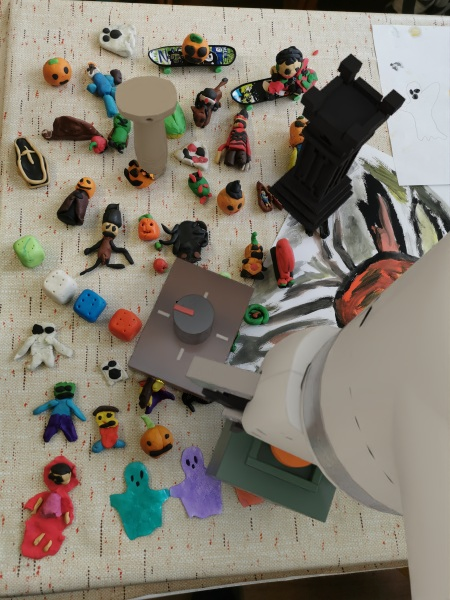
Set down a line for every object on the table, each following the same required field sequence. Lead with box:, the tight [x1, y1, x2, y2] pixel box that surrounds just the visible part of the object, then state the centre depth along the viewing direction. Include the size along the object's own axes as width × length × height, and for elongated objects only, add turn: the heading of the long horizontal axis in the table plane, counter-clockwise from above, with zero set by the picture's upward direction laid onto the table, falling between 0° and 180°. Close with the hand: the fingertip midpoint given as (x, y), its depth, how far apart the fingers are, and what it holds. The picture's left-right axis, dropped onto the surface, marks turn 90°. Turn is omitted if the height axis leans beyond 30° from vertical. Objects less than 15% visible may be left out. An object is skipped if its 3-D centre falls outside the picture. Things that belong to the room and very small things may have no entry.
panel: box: [127, 257, 255, 403], centre depth 65 cm, size 14×10×3 cm
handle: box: [114, 75, 178, 180], centre depth 65 cm, size 5×6×15 cm
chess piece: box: [267, 53, 407, 235], centre depth 64 cm, size 8×8×20 cm
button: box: [270, 444, 311, 467], centre depth 41 cm, size 4×4×2 cm
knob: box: [173, 294, 214, 344], centre depth 61 cm, size 4×4×5 cm
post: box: [204, 368, 337, 524], centre depth 53 cm, size 9×9×22 cm
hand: (308, 436), depth 37 cm, fingers open, 9 cm apart
